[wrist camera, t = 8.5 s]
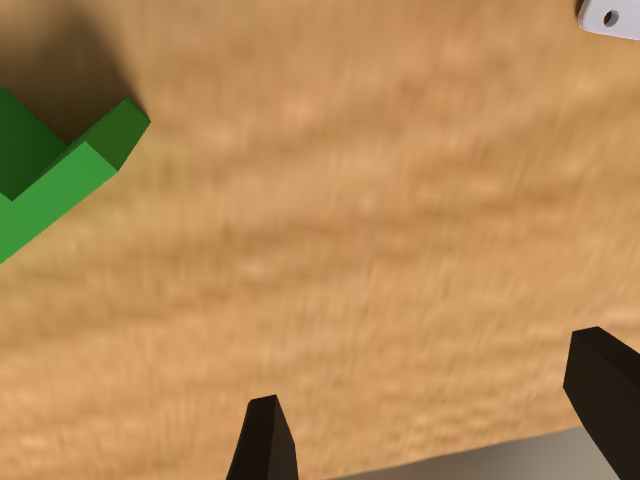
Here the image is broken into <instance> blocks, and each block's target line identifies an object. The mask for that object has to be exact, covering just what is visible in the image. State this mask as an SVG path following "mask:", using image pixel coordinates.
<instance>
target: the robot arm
mask: <svg viewBox="0 0 640 480" xmlns="http://www.w3.org/2000/svg"><path fill="white" fill-rule="evenodd" d="M609 11H611V13H612V15H611V19H610V20H609V21H608V23H606V24H605V25H604V22H603V21H604V17H605V16H606V14H607V13H608V12H609ZM578 25H579V27H580V28H581V29H583V30H585V31H588V32H593V33H599V34H605V35H611V36H617V37H622V38H628V39H634V40H640V0H584V2H583V4H582V7H581V9H580V12H579V15H578ZM563 388H564V390H565V392H566V394H567V396H568V398H569V400H570V402H571V404H572V406H573V407H574V409H575V411H576V413H577V415H578V417H579V418H580V420H581V422H582V424H583V426H584V427H585V429H586V430H587V432H588V433H589V435H590V436H591V438H592V439H593V441H594V442H595V444H596V445H597V446H598V448H599V450H600V451H601V452H602V454H603V455H604V457H605V458H606V460H607V461H608V463H609V464H610V465H611V467H612V468H613V470H614V471H615V473H616V474H617V475H618V477H619V478H620V480H640V354H639V353H638V352H636V351H635V350H633V349H632V348H630V347H629V346H627V345H626V344H624V343H623V342H621V341H620V340H618V339H617V338H615V337H614V336H612V335H611V334H609V333H608V332H606V331H605V330H603V329H601V328H600V327H598V326H596V327H592V328H587V329H582V330H577V331H573V332H572V337H571V343H570V349H569V355H568V360H567V366H566V372H565V378H564V383H563ZM226 480H299V479H298V469H297V460H296V451H295V443H294V441H293V438H292V435H291V433H290V430H289V427H288V425H287V422H286V419H285V417H284V414H283V411H282V409H281V406H280V403H279V401H278V398H277V395H271V396H266V397H261V398H257V399H252V400H251V401H250V402H249V403H248V406H247V411H246V415H245V419H244V423H243V426H242V430H241V434H240V437H239V441H238V444H237V447H236V450H235V454H234V457H233V460H232V463H231V466H230V469H229V472H228V475H227V477H226Z"/></svg>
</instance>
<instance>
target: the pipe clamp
mask: <svg viewBox="0 0 640 480" xmlns="http://www.w3.org/2000/svg"><path fill="white" fill-rule="evenodd" d="M150 123H151V122H150V121H149V120H148V119H147V118H146V116H145V115H144V114H143V113H142V112H141V111H140V110H139V109H138V108H137V107H136V106H135V105H134V104H133V103H132V102H131V101H130V100H129V99H128V98H127V97H126V98H125V99H123V100H122V101H121V102H120V103H119V104H117V105H116V106H115V107H114V108H113V109H112V110H110V111H109V112H108V113H107V114H106V115H104V116H103V117H102V118H101V119H100V120H98V121H97V122H96V123H95V124H94V125H92V126H91V127H90V128H89V129H88V130H86V131H85V132H84V133H83V134H82V135H80V136H79V137H78V138H77V139H76V140H74V141H73V142H72V143H71V144H70V145H66V144H65V143H64V142H63V141H62V140H61V139H60V138H59V137H58V136H56V135H55V134H54V133H53V132H52V131H51V130H50V129H49V128H48V127H47V126H45V125H44V124H43V123H42V122H41V121H40V120H39V119H38V118H37V117H36V116H34V115H33V114H32V113H31V112H30V111H29V110H28V109H27V108H26V107H24V106H23V105H22V104H21V103H20V102H19V101H18V100H17V99H16V98H15V97H13V96H12V95H11V94H10V93H9V92H8V91H7V90H6V89H5V88H4V87H1V88H0V264H1V263H3V262H4V261H5V260H6V259H8V258H9V257H10V256H12V255H13V254H14V253H15V252H17V251H18V250H19V249H20V248H22V247H23V246H24V245H26V244H27V243H28V242H29V241H31V240H32V239H33V238H34V237H36V236H37V235H38V234H39V233H41V232H42V231H43V230H45V229H46V228H47V227H48V226H50V225H51V224H52V223H53V222H55V221H56V220H57V219H59V218H60V217H61V216H62V215H64V214H65V213H66V212H67V211H69V210H70V209H71V208H73V207H74V206H75V205H76V204H78V203H79V202H80V201H81V200H83V199H84V198H85V197H87V196H88V195H89V194H90V193H92V192H93V191H94V190H95V189H97V188H98V187H99V186H101V185H102V184H103V183H104V182H106V181H107V180H108V179H109V178H111V177H112V176H113V175H115V174H116V173H117V172H118V171H119V170H120V168H121V166H122V165H123V163H124V162H125V160H126V159H127V157H128V156H129V154H130V153H131V151H132V150H133V148H134V147H135V145H136V144H137V142H138V141H139V139H140V138H141V136H142V135H143V133H144V132H145V130H146V129H147V127H148V126H149V124H150Z"/></svg>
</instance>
